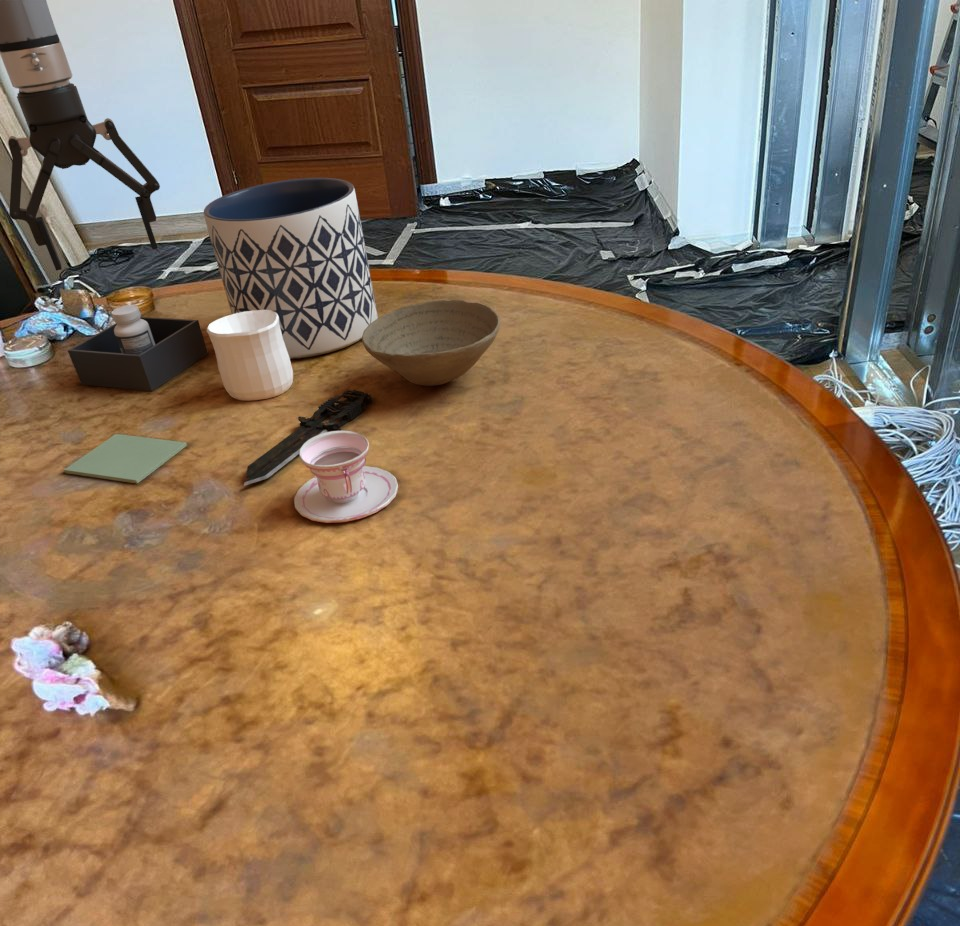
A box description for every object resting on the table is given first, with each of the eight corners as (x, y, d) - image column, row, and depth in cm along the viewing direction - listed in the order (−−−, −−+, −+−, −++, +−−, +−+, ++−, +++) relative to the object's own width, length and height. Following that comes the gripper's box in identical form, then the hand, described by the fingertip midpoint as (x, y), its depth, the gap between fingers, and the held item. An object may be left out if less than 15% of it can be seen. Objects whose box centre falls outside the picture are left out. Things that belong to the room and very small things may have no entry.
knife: (254, 493, 104) (251, 483, 103) (216, 482, 107) (212, 472, 106) (383, 403, 119) (382, 393, 119) (347, 395, 123) (345, 386, 122)
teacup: (285, 487, 104) (271, 440, 100) (381, 460, 107) (372, 413, 103) (308, 536, 95) (294, 486, 91) (412, 505, 98) (403, 455, 94)
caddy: (81, 384, 136) (67, 350, 133) (140, 348, 146) (128, 315, 142) (152, 391, 131) (139, 356, 128) (208, 353, 141) (198, 319, 137)
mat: (65, 473, 113) (63, 469, 113) (117, 436, 120) (115, 433, 120) (137, 483, 109) (136, 480, 109) (187, 445, 116) (186, 442, 115)
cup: (306, 387, 126) (289, 319, 120) (240, 410, 123) (220, 341, 116) (281, 368, 133) (264, 303, 126) (218, 389, 129) (197, 322, 123)
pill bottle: (132, 361, 140) (111, 305, 134) (165, 357, 140) (145, 301, 134) (124, 375, 136) (102, 317, 130) (158, 370, 136) (137, 313, 130)
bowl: (408, 423, 114) (398, 364, 109) (351, 379, 127) (339, 324, 122) (529, 381, 120) (524, 322, 115) (462, 343, 133) (456, 289, 128)
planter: (371, 354, 133) (344, 209, 120) (226, 368, 135) (184, 227, 122) (385, 302, 150) (362, 171, 137) (256, 315, 152) (222, 187, 139)
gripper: (-60, 107, 109) (17, 283, 122) (144, 71, 114) (196, 244, 128) (-56, 100, 114) (17, 270, 128) (139, 66, 120) (189, 232, 133)
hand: (107, 257), depth 128 cm, fingers open, 13 cm apart
